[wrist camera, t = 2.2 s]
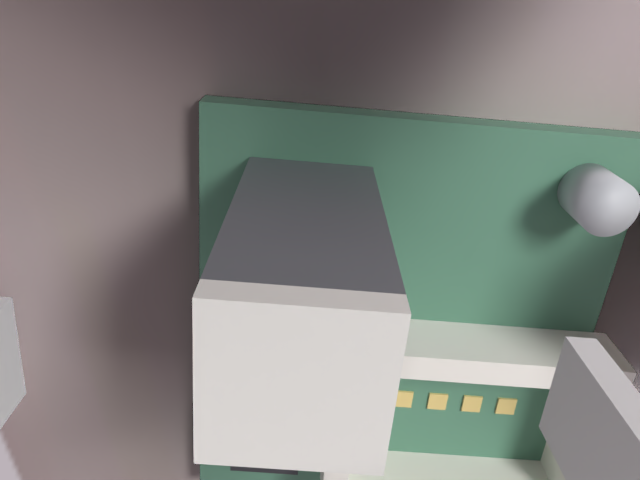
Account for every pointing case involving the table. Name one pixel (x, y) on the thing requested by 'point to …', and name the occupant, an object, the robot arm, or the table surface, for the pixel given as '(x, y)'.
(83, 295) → the table surface
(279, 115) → the board
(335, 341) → the plug
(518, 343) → the header
